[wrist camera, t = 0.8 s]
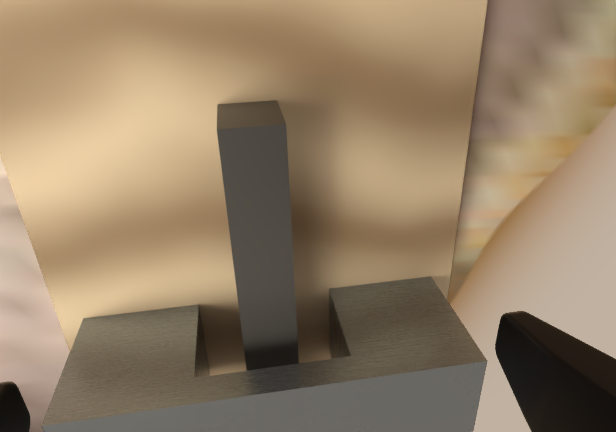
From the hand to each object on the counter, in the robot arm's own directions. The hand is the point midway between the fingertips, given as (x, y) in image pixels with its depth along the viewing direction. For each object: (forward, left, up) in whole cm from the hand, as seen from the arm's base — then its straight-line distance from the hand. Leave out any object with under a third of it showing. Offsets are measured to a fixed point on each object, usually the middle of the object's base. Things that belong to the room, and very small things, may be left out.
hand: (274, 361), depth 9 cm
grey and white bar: (-7, -3, -11) cm, 13 cm away
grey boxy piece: (-8, -4, -11) cm, 14 cm away
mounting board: (-3, -2, -12) cm, 13 cm away
